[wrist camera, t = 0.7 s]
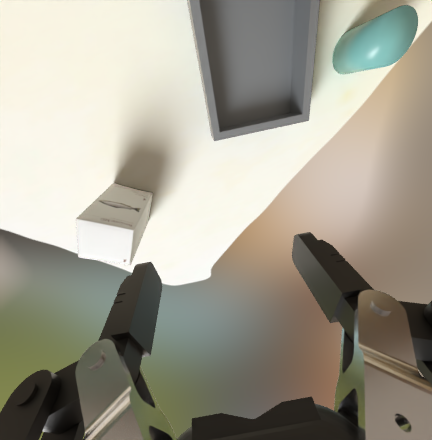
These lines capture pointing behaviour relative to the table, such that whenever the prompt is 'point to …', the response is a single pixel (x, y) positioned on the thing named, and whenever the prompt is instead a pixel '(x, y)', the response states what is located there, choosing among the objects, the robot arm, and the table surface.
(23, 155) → the table surface
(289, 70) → the tote
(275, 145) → the table surface
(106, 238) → the supplement box
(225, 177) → the table surface
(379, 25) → the cylinder
